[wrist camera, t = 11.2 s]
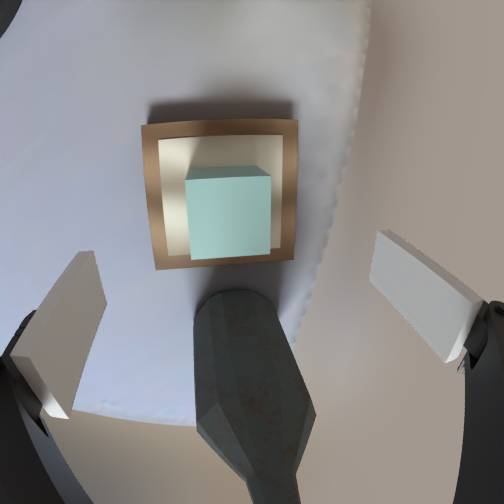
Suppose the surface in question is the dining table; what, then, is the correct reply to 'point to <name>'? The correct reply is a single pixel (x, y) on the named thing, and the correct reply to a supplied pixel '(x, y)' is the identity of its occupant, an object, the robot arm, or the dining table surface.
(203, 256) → the cube
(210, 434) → the bottle
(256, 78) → the dining table surface
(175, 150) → the picture frame
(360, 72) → the dining table surface
